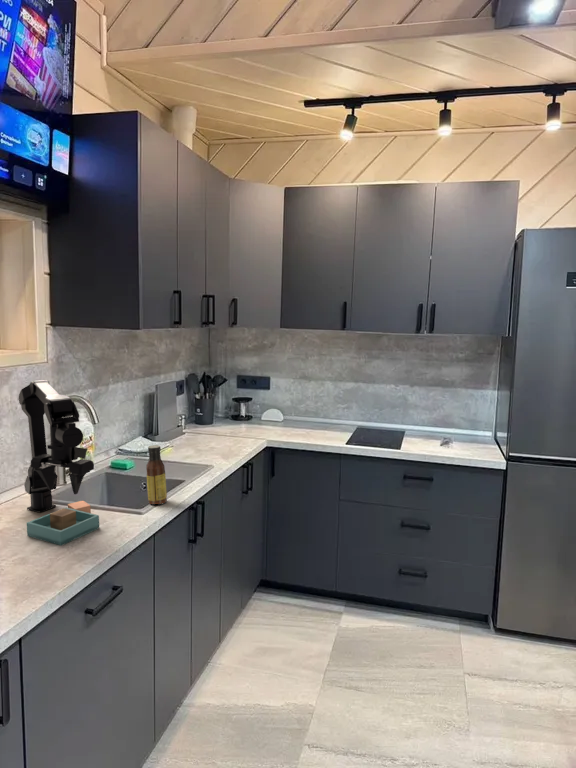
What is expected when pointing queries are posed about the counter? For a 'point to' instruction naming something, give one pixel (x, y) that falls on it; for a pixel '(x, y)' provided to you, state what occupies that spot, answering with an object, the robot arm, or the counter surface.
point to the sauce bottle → (156, 477)
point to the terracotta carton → (80, 506)
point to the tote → (60, 537)
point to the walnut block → (62, 519)
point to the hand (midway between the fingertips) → (63, 491)
